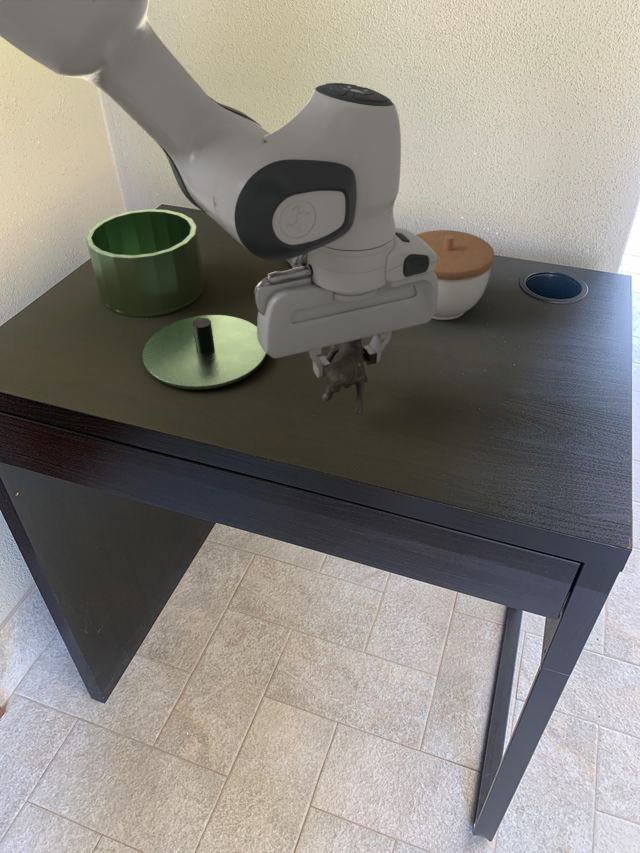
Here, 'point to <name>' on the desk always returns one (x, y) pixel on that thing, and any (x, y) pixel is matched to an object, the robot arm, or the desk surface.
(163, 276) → the waste tin
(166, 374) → the tin lid
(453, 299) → the lidded bowl
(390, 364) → the desk surface
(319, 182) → the robot arm
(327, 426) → the desk surface
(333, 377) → the dog figurine
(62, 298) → the desk surface
